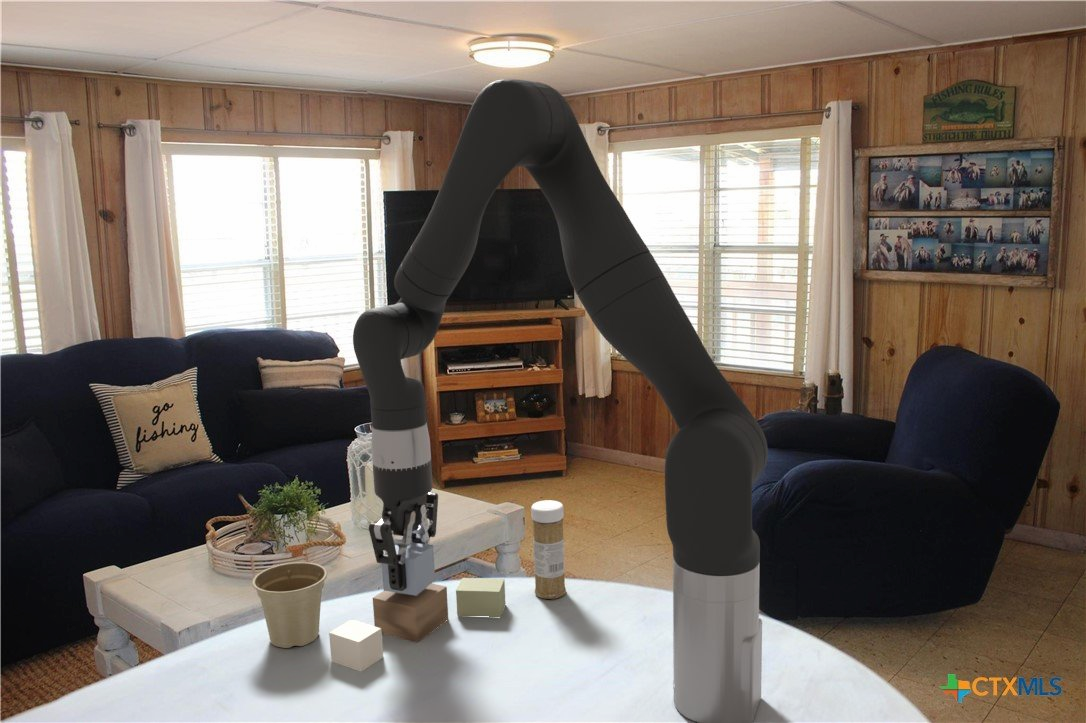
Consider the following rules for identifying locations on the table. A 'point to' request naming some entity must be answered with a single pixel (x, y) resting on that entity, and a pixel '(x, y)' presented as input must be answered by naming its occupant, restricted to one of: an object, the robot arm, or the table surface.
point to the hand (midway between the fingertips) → (409, 580)
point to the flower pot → (291, 601)
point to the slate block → (414, 569)
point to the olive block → (480, 597)
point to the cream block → (356, 645)
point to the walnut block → (411, 612)
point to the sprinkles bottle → (548, 549)
